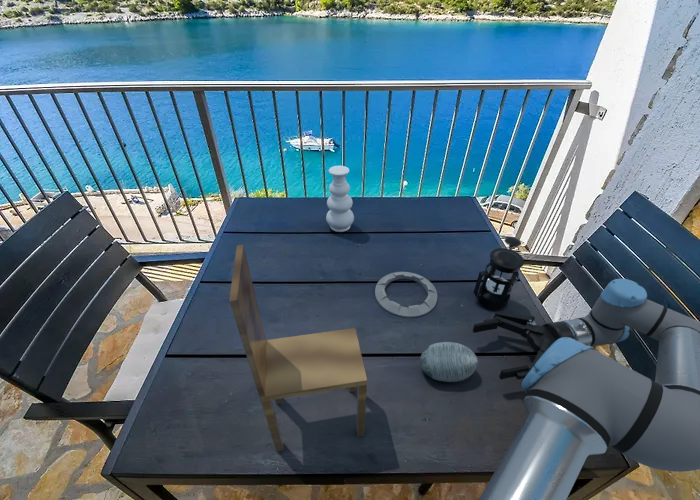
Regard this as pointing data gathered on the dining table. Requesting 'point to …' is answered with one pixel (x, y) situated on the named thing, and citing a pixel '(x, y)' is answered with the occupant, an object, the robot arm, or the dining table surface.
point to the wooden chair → (294, 356)
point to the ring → (396, 308)
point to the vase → (339, 201)
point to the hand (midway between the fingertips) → (486, 350)
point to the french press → (497, 285)
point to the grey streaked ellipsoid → (448, 362)
